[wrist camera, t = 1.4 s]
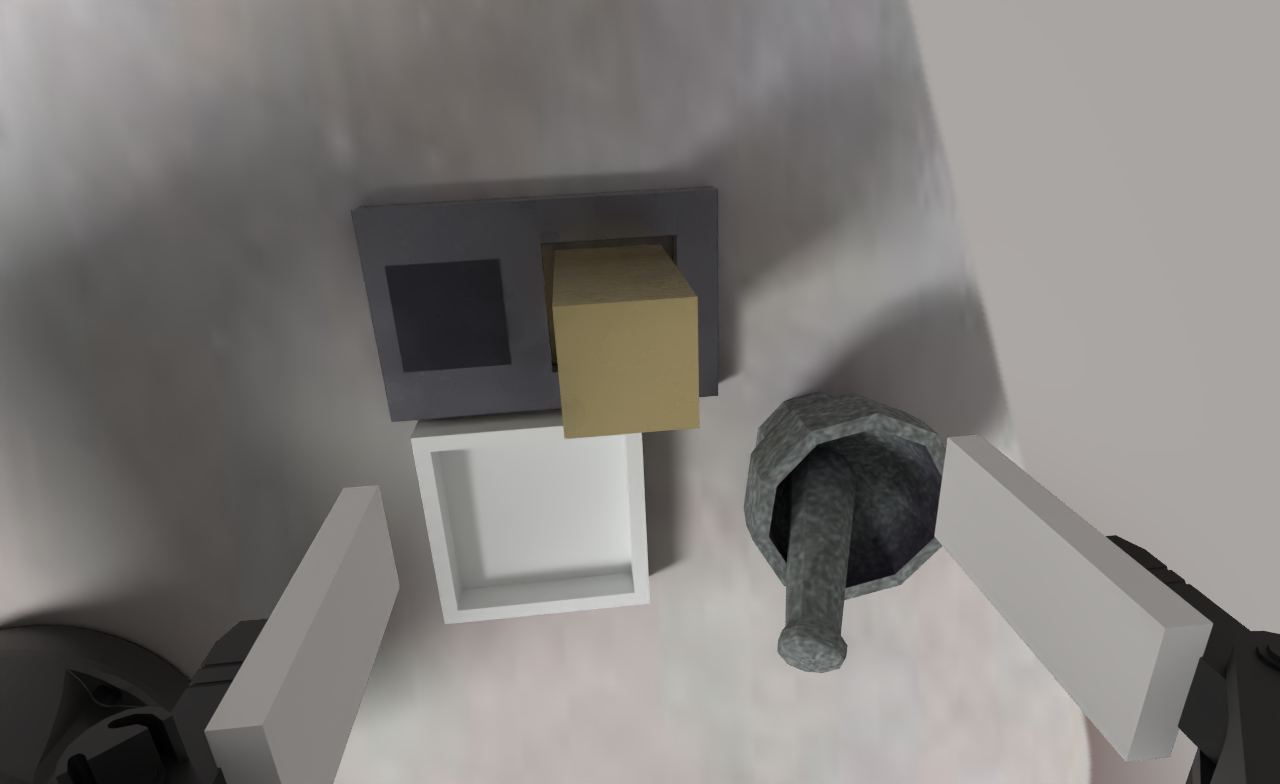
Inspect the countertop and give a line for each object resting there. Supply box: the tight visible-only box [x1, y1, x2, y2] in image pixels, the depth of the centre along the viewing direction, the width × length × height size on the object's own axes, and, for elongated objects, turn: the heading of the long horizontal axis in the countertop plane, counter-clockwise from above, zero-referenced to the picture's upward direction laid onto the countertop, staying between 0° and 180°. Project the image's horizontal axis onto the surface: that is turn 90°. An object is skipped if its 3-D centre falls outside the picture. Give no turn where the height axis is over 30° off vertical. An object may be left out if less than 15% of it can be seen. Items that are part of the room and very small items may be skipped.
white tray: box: [411, 408, 650, 624], centre depth 37 cm, size 11×11×2 cm
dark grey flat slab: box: [351, 187, 718, 422], centre depth 34 cm, size 16×10×1 cm, turn 92°
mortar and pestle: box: [744, 392, 946, 673], centre depth 33 cm, size 11×9×12 cm
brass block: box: [552, 244, 699, 439], centre depth 30 cm, size 5×5×10 cm
